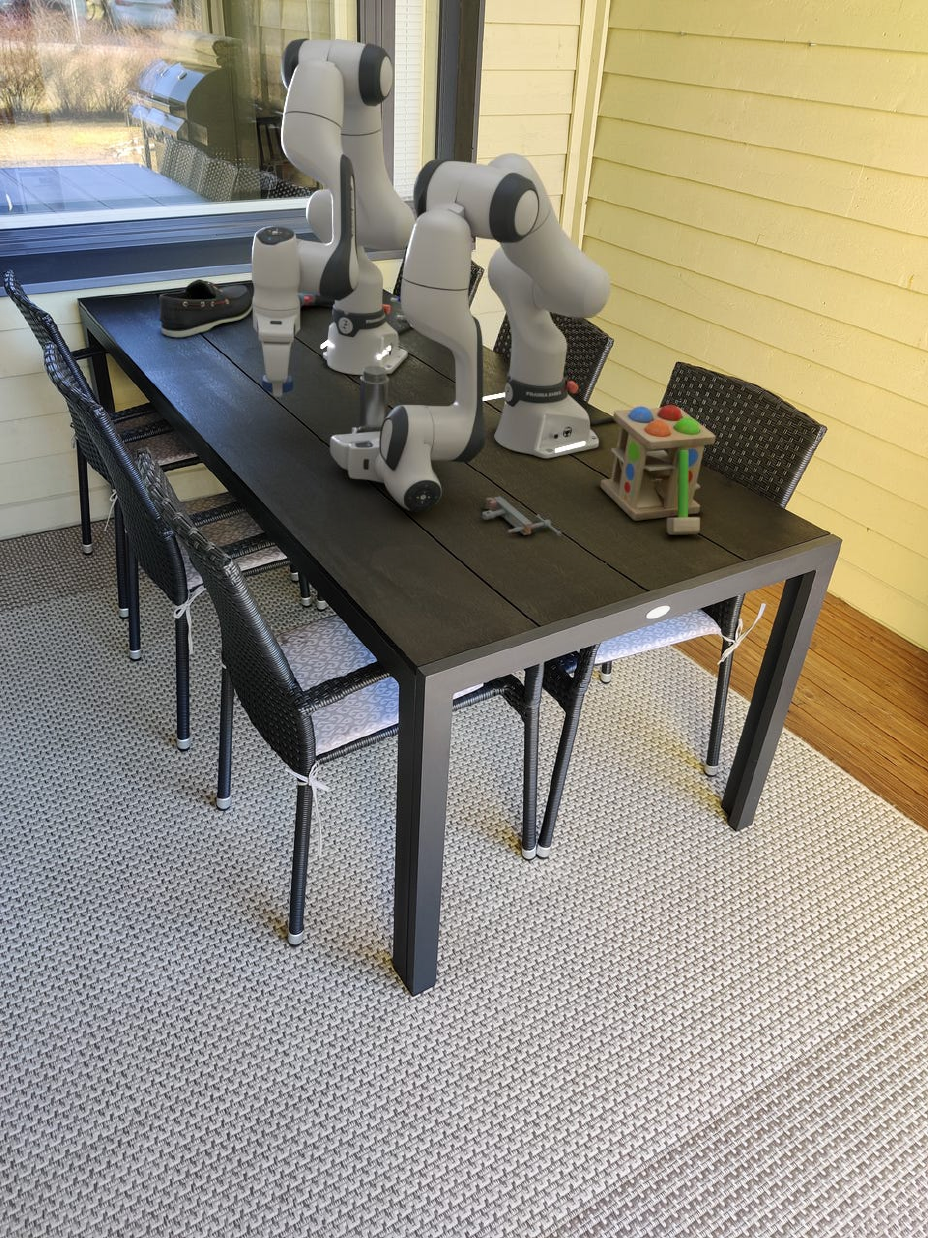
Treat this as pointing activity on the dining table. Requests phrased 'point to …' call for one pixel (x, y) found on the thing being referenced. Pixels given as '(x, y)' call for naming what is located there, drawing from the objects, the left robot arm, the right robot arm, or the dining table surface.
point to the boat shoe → (202, 307)
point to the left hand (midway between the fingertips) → (277, 388)
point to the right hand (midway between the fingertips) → (371, 429)
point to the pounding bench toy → (658, 466)
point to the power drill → (314, 300)
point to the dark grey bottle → (373, 398)
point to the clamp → (513, 516)
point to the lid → (285, 387)
